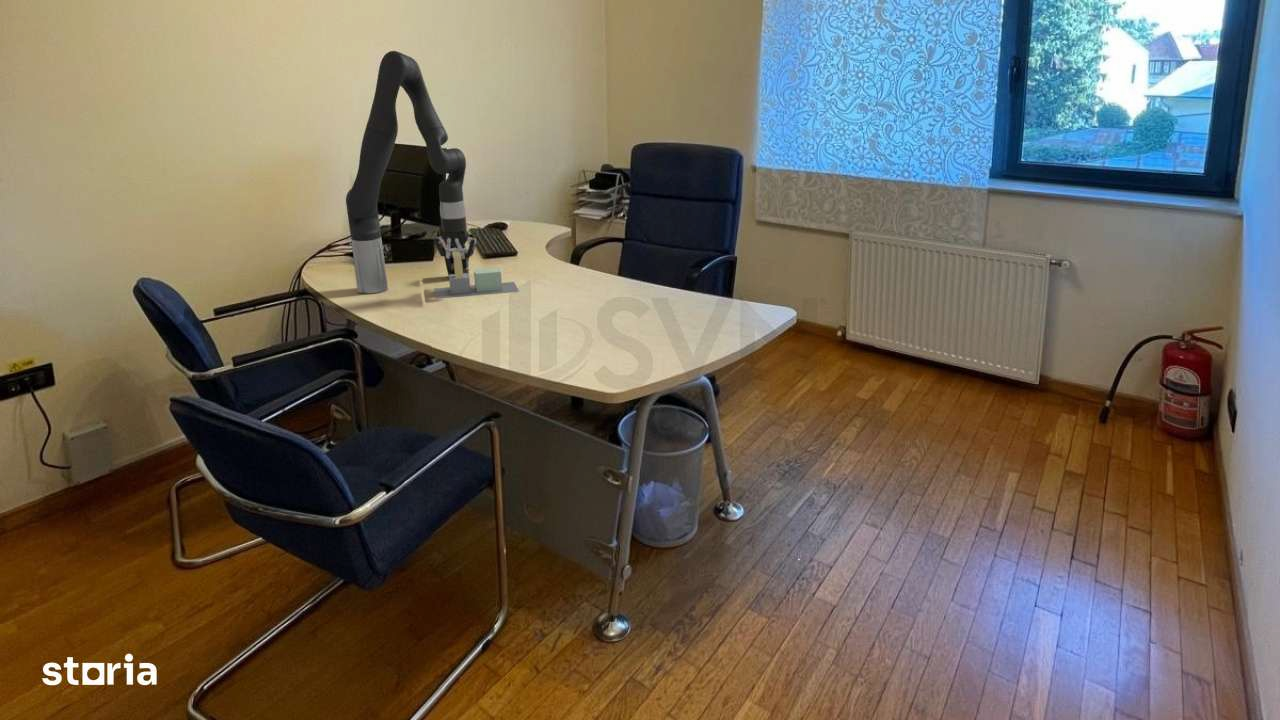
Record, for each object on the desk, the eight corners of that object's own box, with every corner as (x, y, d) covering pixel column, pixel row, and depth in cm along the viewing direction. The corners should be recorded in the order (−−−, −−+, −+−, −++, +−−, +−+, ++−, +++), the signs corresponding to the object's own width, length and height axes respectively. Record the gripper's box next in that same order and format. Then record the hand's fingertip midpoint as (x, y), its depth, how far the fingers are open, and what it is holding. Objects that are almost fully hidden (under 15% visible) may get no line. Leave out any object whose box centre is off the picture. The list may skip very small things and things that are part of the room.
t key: (454, 270, 260) (452, 252, 258) (461, 269, 261) (459, 251, 258) (455, 281, 247) (453, 262, 245) (463, 280, 248) (461, 261, 246)
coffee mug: (457, 284, 267) (454, 255, 263) (440, 280, 272) (437, 251, 268) (483, 277, 276) (481, 248, 272) (466, 273, 281) (464, 245, 277)
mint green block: (476, 292, 255) (475, 273, 253) (475, 287, 259) (473, 269, 257) (502, 289, 257) (500, 271, 255) (500, 285, 261) (498, 267, 259)
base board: (435, 301, 249) (433, 283, 247) (434, 291, 260) (432, 273, 257) (519, 294, 255) (518, 276, 253) (514, 284, 266) (513, 267, 264)
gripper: (479, 213, 250) (483, 267, 256) (436, 212, 252) (441, 265, 258) (470, 218, 243) (475, 273, 249) (426, 217, 245) (432, 271, 251)
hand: (458, 269), depth 254 cm, fingers closed on t key, 3 cm apart
